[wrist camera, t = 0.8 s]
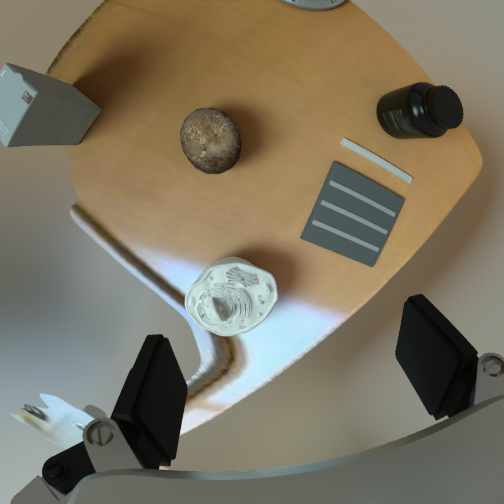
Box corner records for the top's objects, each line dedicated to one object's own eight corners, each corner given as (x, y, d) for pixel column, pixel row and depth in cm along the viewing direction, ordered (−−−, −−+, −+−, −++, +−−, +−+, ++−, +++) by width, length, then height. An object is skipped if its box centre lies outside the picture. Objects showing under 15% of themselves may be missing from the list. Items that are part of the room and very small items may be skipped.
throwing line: (342, 137, 32) (343, 137, 32) (411, 177, 34) (412, 177, 34) (340, 144, 33) (341, 144, 32) (409, 183, 34) (410, 183, 34)
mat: (333, 161, 33) (334, 161, 33) (402, 198, 35) (404, 199, 35) (300, 237, 37) (301, 238, 36) (371, 266, 39) (372, 267, 38)
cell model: (285, 296, 40) (293, 323, 33) (211, 325, 41) (207, 353, 35) (258, 234, 37) (261, 252, 30) (178, 269, 38) (166, 292, 32)
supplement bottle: (415, 141, 32) (470, 144, 21) (375, 136, 32) (427, 133, 21) (413, 97, 30) (466, 85, 19) (373, 88, 30) (421, 69, 19)
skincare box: (49, 119, 29) (-26, 117, 14) (75, 79, 28) (3, 58, 13) (79, 148, 31) (1, 155, 16) (108, 106, 30) (34, 89, 15)
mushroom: (257, 104, 28) (225, 116, 24) (256, 166, 33) (229, 188, 29) (200, 100, 31) (165, 112, 27) (205, 156, 36) (174, 174, 32)
